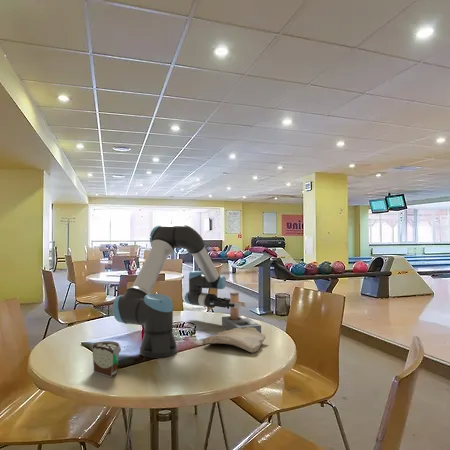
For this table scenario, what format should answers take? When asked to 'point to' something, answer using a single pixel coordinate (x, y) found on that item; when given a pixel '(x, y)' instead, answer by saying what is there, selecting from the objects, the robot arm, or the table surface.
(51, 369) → the table surface
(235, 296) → the plug
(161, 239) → the robot arm
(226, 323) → the socket board
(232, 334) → the beige flat rock
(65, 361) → the table surface
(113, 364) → the food container
